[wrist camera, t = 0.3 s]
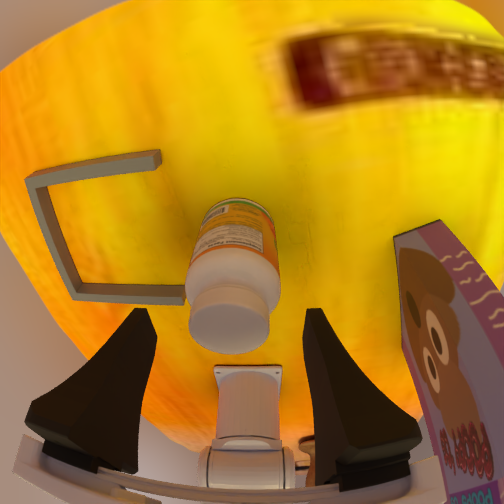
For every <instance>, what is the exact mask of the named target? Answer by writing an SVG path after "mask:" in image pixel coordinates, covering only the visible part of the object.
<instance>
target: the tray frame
mask: <svg viewBox="0 0 504 504" xmlns="http://www.w3.org/2000/svg"><path fill="white" fill-rule="evenodd" d="M161 163H162V161H161V154H160V149H159V150H151V151H143V152H135V153H128V154H121V155H115V156H109V157H103V158H97V159H92V160H86V161H81V162H76V163H71V164H66V165H62V166H57V167H53V168H49V169H44V170H40V171H36V172H34V173H32V174H31V175H29V176H28V177H26V178H25V179H24V180H25V183H26V187H27V190H28V193H29V197H30V200H31V203H32V206H33V209H34V212H35V215H36V217H37V220H38V223H39V226H40V228H41V231H42V233H43V236H44V239H45V241H46V244H47V246H48V248H49V251H50V253H51V255H52V258H53V260H54V262H55V265H56V267H57V269H58V271H59V273H60V275H61V278H62V280H63V282H64V284H65V286H66V288H67V290H68V292H69V294H70V296H71V298H72V300H77V301H91V302H107V303H125V304H149V305H184V303H185V299H186V292H185V285H127V284H93V283H82V281H81V279H80V276H79V274H78V272H77V270H76V267H75V265H74V263H73V260H72V258H71V255H70V253H69V250H68V248H67V245H66V243H65V240H64V237H63V235H62V232H61V229H60V227H59V224H58V221H57V218H56V215H55V212H54V209H53V206H52V203H51V200H50V196H49V193H48V190H47V186H50V185H55V184H60V183H66V182H72V181H78V180H84V179H90V178H97V177H104V176H111V175H118V174H126V173H135V172H144V171H154V170H156V169H157V168H158V167H159V166H160V165H161Z"/></svg>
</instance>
